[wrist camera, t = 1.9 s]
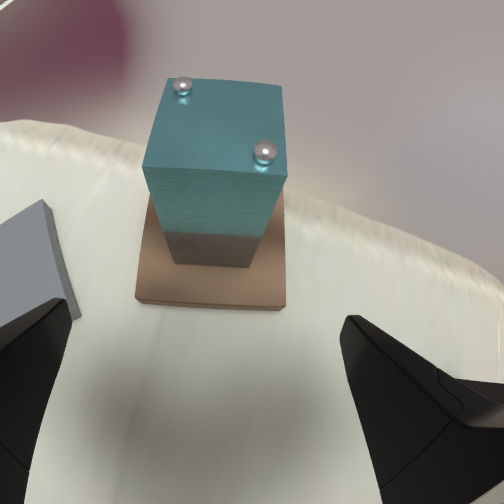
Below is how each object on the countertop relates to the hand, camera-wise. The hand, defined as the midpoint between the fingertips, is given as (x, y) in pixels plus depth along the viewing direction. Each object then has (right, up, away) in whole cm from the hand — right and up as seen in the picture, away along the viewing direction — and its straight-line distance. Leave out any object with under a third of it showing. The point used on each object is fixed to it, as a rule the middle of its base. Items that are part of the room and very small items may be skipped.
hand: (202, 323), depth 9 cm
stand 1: (-18, -1, +11) cm, 21 cm away
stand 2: (-1, +3, +14) cm, 14 cm away
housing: (-1, +4, +12) cm, 13 cm away
